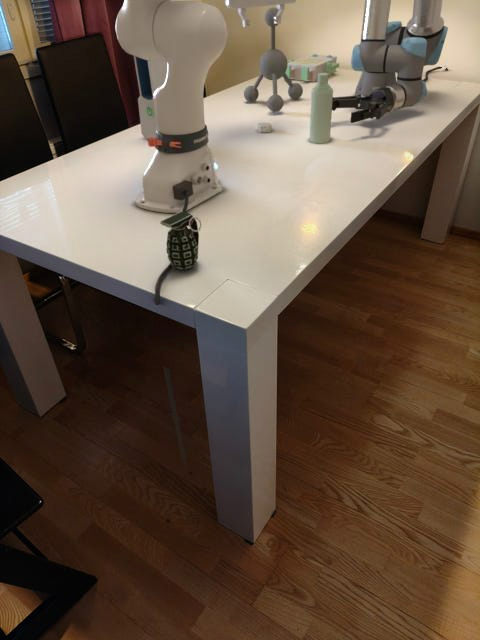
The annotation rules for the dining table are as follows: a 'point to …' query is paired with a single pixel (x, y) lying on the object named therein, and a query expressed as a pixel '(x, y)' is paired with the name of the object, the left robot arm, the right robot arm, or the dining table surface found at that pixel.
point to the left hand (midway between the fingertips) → (261, 25)
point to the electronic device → (149, 92)
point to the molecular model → (273, 70)
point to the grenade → (182, 240)
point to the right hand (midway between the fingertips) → (335, 113)
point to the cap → (264, 127)
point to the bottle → (321, 110)
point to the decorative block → (311, 67)
